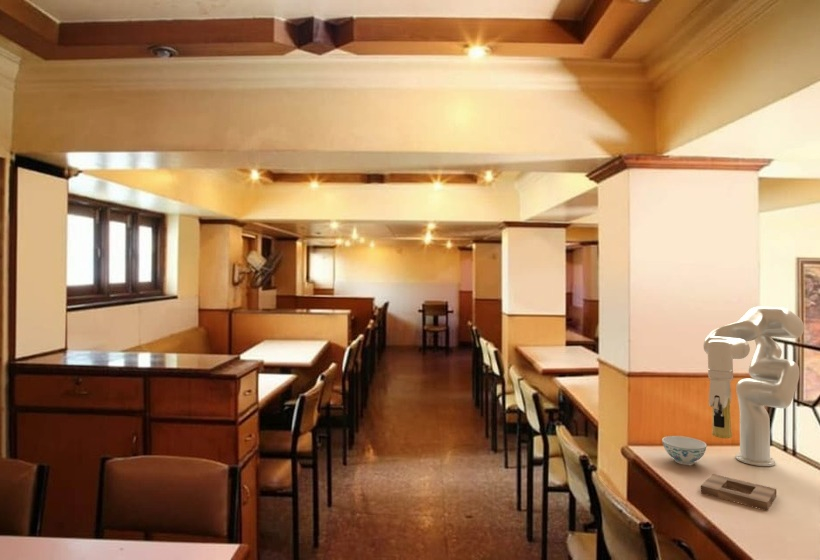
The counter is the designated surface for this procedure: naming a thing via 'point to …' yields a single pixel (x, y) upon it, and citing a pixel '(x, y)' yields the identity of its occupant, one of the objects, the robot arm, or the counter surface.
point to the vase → (726, 430)
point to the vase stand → (757, 498)
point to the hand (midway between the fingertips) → (721, 424)
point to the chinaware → (684, 449)
